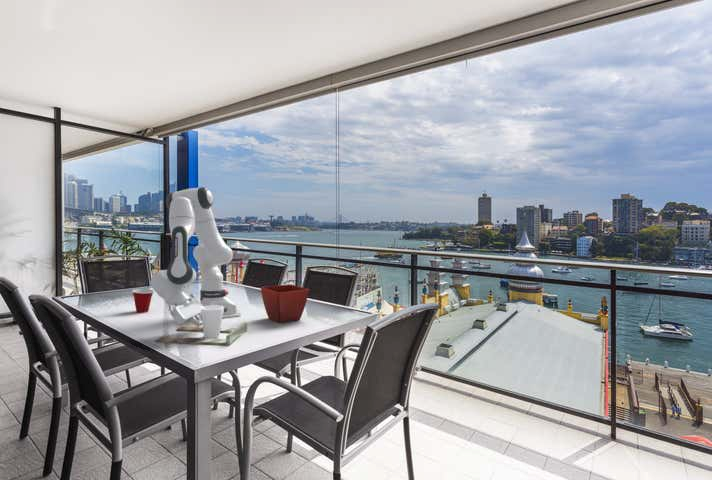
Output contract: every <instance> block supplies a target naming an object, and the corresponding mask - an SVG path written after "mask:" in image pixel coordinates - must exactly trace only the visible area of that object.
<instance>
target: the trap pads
mask: <svg viewBox="0 0 712 480" xmlns="http://www.w3.org/2000/svg"><path fill="white" fill-rule="evenodd" d="M200 330H203V328H202V329H200ZM184 338H185V339H183V340H182V341H186V342H196V341H197V340H199V339H201V337H184Z"/></svg>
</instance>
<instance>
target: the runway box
mask: <svg viewBox="0 0 712 480" xmlns="http://www.w3.org/2000/svg"><path fill="white" fill-rule="evenodd" d="M202 328H203V326H202V327H201V326H199V327H197V326H183V325H182V326H181V325H180V327H177V328H176V331H178V332H198V333H199V332H200V333H203V330H200V329H202ZM246 332H248V322H246V321H244V322H243V323H242V324H240V325H238V326H237V327H234V328H233V327H221V329H220V333H222V334H223V333H224V334H227V335H226V338H225V339H224V338H223V339H222V338H215V339H205V338H200V339H199V340H197V341H196V342H186V341H182V340H183V339H185V338H186V337H167V336H161V337H158V338H156V339H155V340H154V342H155V343H169V344H171V343H172V344H189V345H191V344H192V345H214V346H231V345H232V344H233V343H235V342H236V341H237V340H238V339H239V338H241V337H242V336H243V335H244V334H245V333H246Z"/></svg>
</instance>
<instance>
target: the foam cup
mask: <svg viewBox="0 0 712 480" xmlns="http://www.w3.org/2000/svg"><path fill="white" fill-rule="evenodd" d="M223 313H224V307H223V306H217V305H212V306H204V307H201V315H202V318H201V321H202V327H203V332H202V333H203V339H219V338H220V335H221V334H220V329H221V328H222V322H223V321H222V320H223V318H222V316H223Z"/></svg>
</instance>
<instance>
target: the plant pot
mask: <svg viewBox="0 0 712 480" xmlns="http://www.w3.org/2000/svg"><path fill="white" fill-rule="evenodd" d="M309 290H310V289H309V288H305V287H301V286H299V285H294V284H282V285H272V286H271V285H270V286H260V293H261V297H262V302H263V305H264V309H265V310H264V311H265V312H266V315H267V317H268V319H269V320H271V321H273V322H276V323H279V324H282V323H283V324H284V323H288V322H295V321H299V320H301V318H302V316H303V314H304V311H305V307H306V304H307V299H308V296H309Z"/></svg>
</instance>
